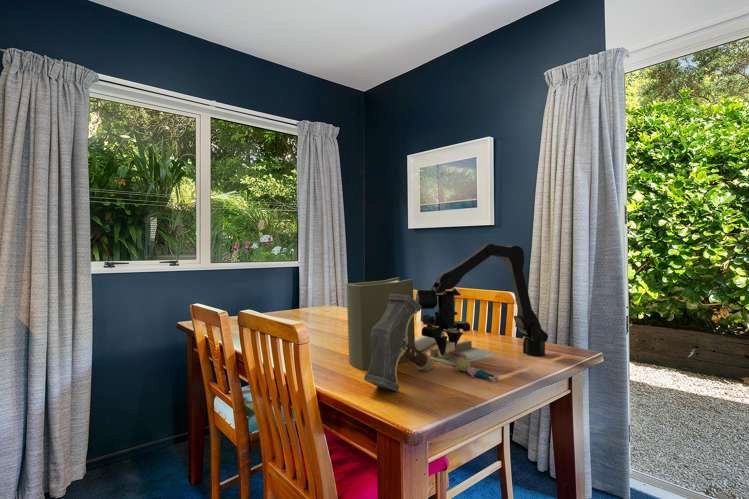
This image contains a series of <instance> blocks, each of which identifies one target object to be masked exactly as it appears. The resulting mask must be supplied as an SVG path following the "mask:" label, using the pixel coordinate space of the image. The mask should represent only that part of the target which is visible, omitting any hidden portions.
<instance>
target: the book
mask: <svg viewBox="0 0 749 499" xmlns="http://www.w3.org/2000/svg"><path fill="white" fill-rule="evenodd" d="M390 294H399V295H408V296H411V297H412V298H413V299H414V280H413V278H409V279H403V280H401V279H400V277H398V276H397V277H393V278H389V279H385V280H384V279H383V280H376V281H375V280H374V281H364V282H354V283H346V303H347V304H346V305H347V310H346V312H347V332H348V333H347V336H348V338H347V339H348V363H349V365H350V366H351V367H353V368H355V369H358V370H361V371H364V370H365V371H366V370H369V366H370V361H371V352H372V342H371V332H372V328H373V327H374V326H375V325H376V324H377V323H378V322H379V321H380V319H381V318H382V316H383V315H384V313H385V311H386V309H387V307H388V304H389V295H390ZM407 336H408V344H411V345H412V346H413V347H415V339H416V338H415V336H416V335H415V315H414V316H413V317H412V318H411V320H410V322H409V325H408V331H407ZM401 362H410V361H409V359H407V358H405V357H404V356H401V357H400V359H399V362H398V363H401Z"/></svg>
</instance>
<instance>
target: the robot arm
mask: <svg viewBox="0 0 749 499" xmlns="http://www.w3.org/2000/svg"><path fill="white" fill-rule="evenodd" d="M491 256H493V257H497V258H500V259H501V260H502V263H503V265H504V266H505V268H506V269H507V271H508V272H509V277H510V281H511V284H512V285H511V286H512V290H513V294H514V298H515V303H516V306H517V314H516V315H513V320H514V322H515V324H514V326H515V328H517V329H518V331H519V332H521V336H522V337H524V338H523V341H522V351H523V352H522V353H523V354H525V355H527V356H530V357H539V358H541V357H545V356H546V342H547V341H548V338H549V335H548V334H547V333H546V332H545V330H543V328H542V325H541V323H540V320H539V318H538V316H537V314H536V313H535V312H534V310H533V308H532V303H531V299H530V296H529V295H530V294H529V290H528V286H527V285H528V284H527V282H526V278H525V272H524V266H525V251H524V249H523V248H522V247H521V246H519V245H505V246H504V245H497V244H493V243H484V244H482V246H481V247H480V248H479V249H477V250H476V251H475V252H473V253H472V254H470V255H468V256H467V257H466V258H465V259H463V260H462V261H460V262H458V264H456V265H454V266H452V267H449V268H447V269H445V270H443V271H441V272H438V273H437V275H436V278H435V282H434V283H433V285H432V286H431V287H430V289H423V288H422V289H421V288H420V289H419V288H418V289H416V294H415V299H414V300H415V301H416V302H417V303H418V304H419V305H421V306H422V307H421V309H420V310H434V309H435V308H436V307H437V310H435V311H434V315H433V316H432V315H431V316H430V314H425V315H422V324H423V325H426V326H423V327H422V328H421V336H427V337H431V338H434V339H435V341H436V343H435V344H437V347H438V348H439V351H440V354H441V355H444V352H445V348H446V342H447V341H451V342H455V346H456V344H457V343H459V342H460V338H461V337H462V335H464V332H470V331H471V324H470V323H469V322H468V321H461V320H456V316H458V311H456V309H455V306H456V305H455V297H457V296H461V292H459V291H458V290H457V288H455V287H456V286H457V285H458V284H460V282H461V281H462V279H463V277H464V276H465V275H466V274H468V273H469V272H470V271H472V270H473V269H474V268H476V267H478V266H479V265H480V264H482V263H483V262H484V261H486V260H487V259H490V257H491ZM461 330H462V331H463V332H462V331H461ZM445 333H446V335H445Z"/></svg>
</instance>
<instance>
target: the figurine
mask: <svg viewBox="0 0 749 499" xmlns="http://www.w3.org/2000/svg"><path fill="white" fill-rule="evenodd" d="M456 360H457V361H456V363H455V365H454V366H456V367H455V368H456V370H457V371H458V372H463V373H468V374H469V375H470V376H471V377H472V378H475V377H477V378H482V379H489V380H491V382H492V383H493V384H494V383H495V380H496V382H499V381H500V380H499V376H498V375H495V374H492V373H489V372H487V371H485V370H483V369H479V368H476V367H471V362H469V361H468V360H467V359H464V358H463V357H462V356H460V357H459V358H458V357H456Z"/></svg>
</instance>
